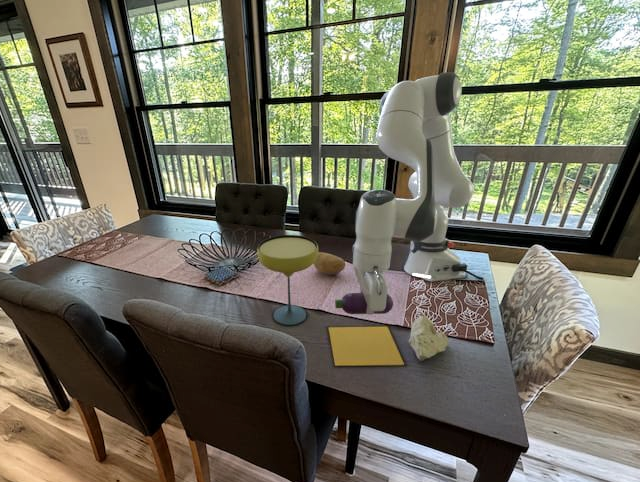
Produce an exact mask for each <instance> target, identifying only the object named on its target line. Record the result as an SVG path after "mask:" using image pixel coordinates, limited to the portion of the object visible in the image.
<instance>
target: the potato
mask: <svg viewBox="0 0 640 482" xmlns="http://www.w3.org/2000/svg"><path fill="white" fill-rule="evenodd" d="M346 265H347V264H346V262H345V260H344V259H343V258H342V257H339V256H337V255H335V254H331V253H327V252H321V251H318V258H317V260H316V261H315V263H314V264H313V266H314V268H315V269H316V270H317V271H318V272H321V273H323V274H324V275H337V274H339V273H341V272H342V271H343V270H344V269H345V268H346Z"/></svg>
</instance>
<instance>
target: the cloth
mask: <svg viewBox="0 0 640 482" xmlns="http://www.w3.org/2000/svg"><path fill="white" fill-rule="evenodd" d="M328 333H329V338H330V344H331V350H332V355H333V362H334V366H335V367H357V366H358V367H361V366H362V367H367V366H369V367H371V366H377V367H378V366H405V362H404V361H403V358H402V356H401V354H400V352H399V350H398V347H397V344H396V343H395V340H394V338H393V336H392V334H391V331H390V329H389V327H388V326H338V327H337V326H332V327H330V326H329V327H328Z"/></svg>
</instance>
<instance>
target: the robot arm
mask: <svg viewBox="0 0 640 482" xmlns="http://www.w3.org/2000/svg"><path fill="white" fill-rule="evenodd" d="M462 90H463V87H462V83H461V81H460V76H458V75H457V74H456V73H455V72H453V71H447V72H440V73H439V74H435V75H430V76H426V77H422V78H418V79H416V80H415V81H413V80H402V81H400V82H398V83H396V84H395V85H394V86H393V87H392V88H391V89H390V90H388V91H386V92H385V93H384V94H383V96H382V97H381V99H380V101H379V105H378V106H379V107H378V108H379V109H378V111H379V115H380V116H379V120H378V125H377V129H376V130H377V131H376V143H377V147H378V148H379V149H380V151H381V152H382V153H383V154H384V155H385V156H386V157H388V158H390V159H392V160H393V161H394V160H395V161H397V162H399V163H402V164H405V165H406V166H408V167H409V168H411V169H413V170H414V172H413V173H412V174H411V175H410V177H409V180H408V183H407V185H408V186H407V187H408V190H409V192H410V193H411V195H412V199H411V198H410V199H409V198H398V197H397V198H396V195H395V194H394V193H393V192H392V191H390V190H387V189H371V190H368V191H366V192H364V193H363V194H362V195H361V197H360V200H359V204H358V207H357V208H356V211H355V219H354V226H355V237H356V238H355V242H354V244H352V249H351V250H352V251H351V252H352V266H353V269H354V275H355V276H356V279H357V282H358V285H359V291H360V292H359V293H363V295H364V298H365V300H366V303H367V306H366V313H367V314H366V315H368V316H369V315H371V316H372V315H375V314H374V311H384V309H385V308H386V298H387V294H388V283H387V280H386V278H385V277H384V272H386V271H388V270H389V269H390V266H391V259H392V252H393V245H392V239H393V238H397V239H405V240H408V241H410V247H409V250H410V251H409V254H408V257H407V260H406V261H405V264H404V266H403V270H404V271H405V272H406V273H407V274H408V275H410V276H413V277H415V278H419V279H423V280H425V281H427V282H431V283H433V282H440V281H448V280H457V279H464V278H466V275H467V274H468V275H470V276H472V277H474V278H476V279H478V280H482V281H483V280H484V277H483V276H479V275H476V274H474V273H473V272H471V271H469V270H467V269H468V264H466V263H465V262H463V263H461V259H460V257H459V256H458V255H457V254H456V253H455V252H454V251H453V250H452V248H454V246H455V243H454V242H453V241H451V240H449V239H448V238H446V235H447V232H448V231H447V230H448V227H449V217H448V215H447V214H446V212H445V210H444V208H451V209H461V208H463V207H464V206H466V205H467V204H469V202H470V201H471V200H472V198H473V196H474V193H475V192H474V191H475V186H474V183H473V182H472V181H471V180H470V179H469V178H468V177H467V175H466V174H465V173H464V171H463V170H462V168H461V166H460V163H459V161H458V159H457V156H456V153H455V149H454V142H453V131H452V123H451V117H450V114H451V113H453V112H454V111H455V109H457V107H458V106H459V104H460V102H461V101H460V100H461V98H462Z"/></svg>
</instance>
